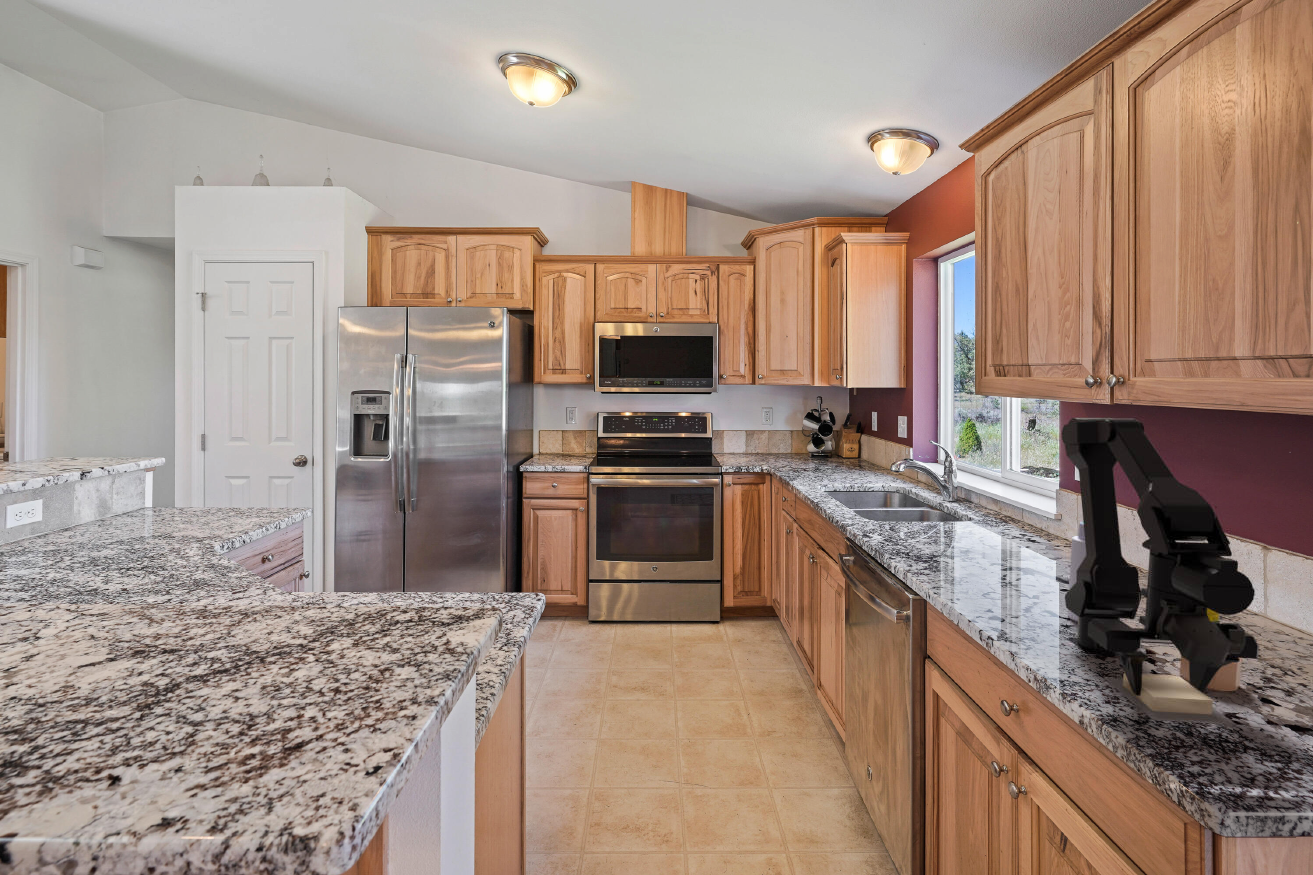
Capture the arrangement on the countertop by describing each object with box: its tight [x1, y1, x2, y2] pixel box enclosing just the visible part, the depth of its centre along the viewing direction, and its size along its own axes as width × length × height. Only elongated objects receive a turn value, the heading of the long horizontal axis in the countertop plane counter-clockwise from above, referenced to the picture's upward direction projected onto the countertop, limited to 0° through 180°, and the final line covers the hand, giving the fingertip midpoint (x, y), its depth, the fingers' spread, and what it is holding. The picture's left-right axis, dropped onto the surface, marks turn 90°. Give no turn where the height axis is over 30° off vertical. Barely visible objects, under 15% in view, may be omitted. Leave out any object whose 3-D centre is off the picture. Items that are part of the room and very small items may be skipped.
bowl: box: [1179, 655, 1243, 692], centre depth 96 cm, size 6×6×5 cm
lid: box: [1122, 672, 1214, 714], centre depth 91 cm, size 7×7×2 cm
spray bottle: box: [1067, 521, 1086, 623], centre depth 121 cm, size 6×6×22 cm
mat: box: [1103, 677, 1237, 726], centre depth 91 cm, size 12×10×1 cm
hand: (1165, 695), depth 91 cm, fingers closed on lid, 7 cm apart
